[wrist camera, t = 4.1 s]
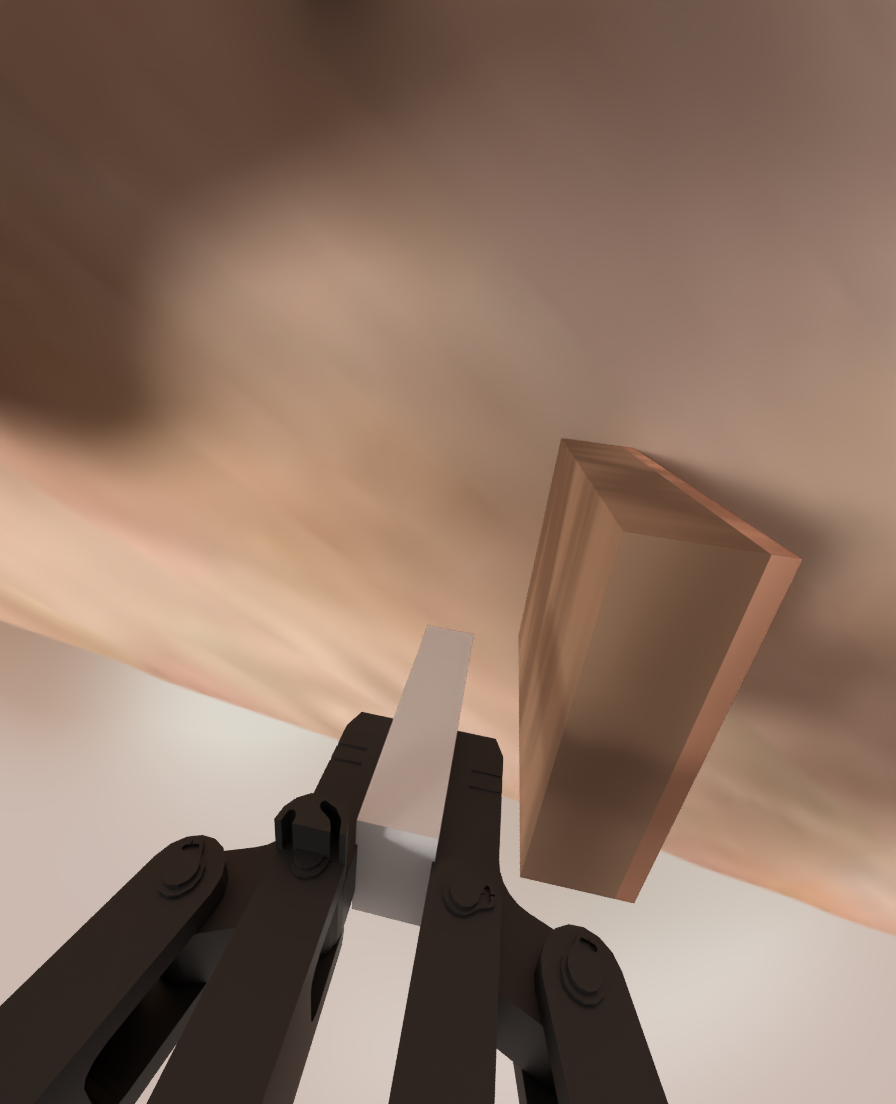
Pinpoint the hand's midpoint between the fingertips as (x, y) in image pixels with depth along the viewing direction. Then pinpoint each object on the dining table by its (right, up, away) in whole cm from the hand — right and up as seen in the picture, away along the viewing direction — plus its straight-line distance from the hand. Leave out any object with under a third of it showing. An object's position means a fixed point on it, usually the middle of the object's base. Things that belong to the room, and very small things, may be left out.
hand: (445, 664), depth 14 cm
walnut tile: (+7, +4, +10) cm, 13 cm away
